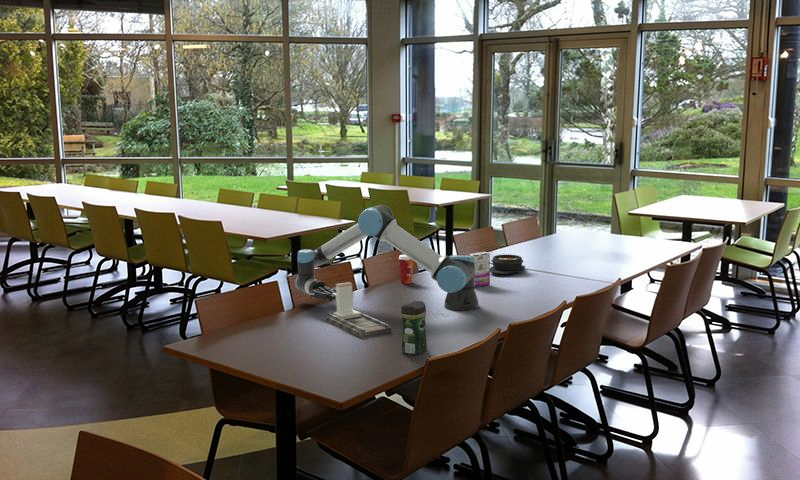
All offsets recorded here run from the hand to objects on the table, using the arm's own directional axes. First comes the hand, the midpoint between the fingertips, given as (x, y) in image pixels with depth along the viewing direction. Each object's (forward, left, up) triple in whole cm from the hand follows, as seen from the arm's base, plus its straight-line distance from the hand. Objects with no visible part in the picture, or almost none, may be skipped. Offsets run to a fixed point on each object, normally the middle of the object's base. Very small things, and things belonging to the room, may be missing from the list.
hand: (340, 299), depth 328 cm
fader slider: (-4, +1, -7) cm, 8 cm away
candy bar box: (-26, -82, -9) cm, 87 cm away
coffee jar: (-48, +24, -9) cm, 54 cm away
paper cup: (+9, -72, -9) cm, 74 cm away
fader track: (-12, +6, -9) cm, 16 cm away
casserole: (-27, -118, -9) cm, 122 cm away
